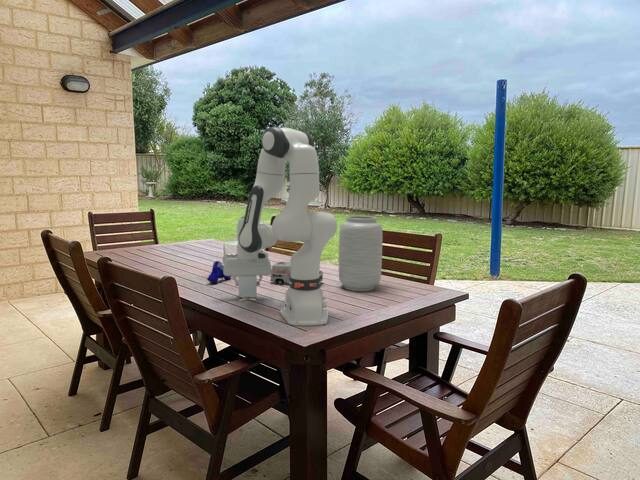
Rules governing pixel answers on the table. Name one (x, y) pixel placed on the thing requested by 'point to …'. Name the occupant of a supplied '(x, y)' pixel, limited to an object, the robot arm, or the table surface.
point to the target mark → (248, 298)
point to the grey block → (247, 286)
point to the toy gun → (217, 273)
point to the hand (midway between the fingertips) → (247, 285)
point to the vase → (360, 253)
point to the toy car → (283, 273)
